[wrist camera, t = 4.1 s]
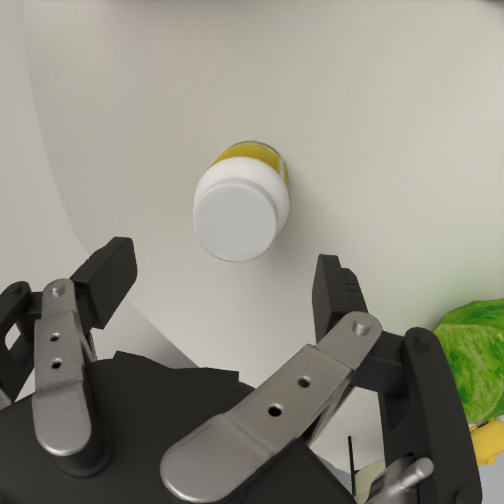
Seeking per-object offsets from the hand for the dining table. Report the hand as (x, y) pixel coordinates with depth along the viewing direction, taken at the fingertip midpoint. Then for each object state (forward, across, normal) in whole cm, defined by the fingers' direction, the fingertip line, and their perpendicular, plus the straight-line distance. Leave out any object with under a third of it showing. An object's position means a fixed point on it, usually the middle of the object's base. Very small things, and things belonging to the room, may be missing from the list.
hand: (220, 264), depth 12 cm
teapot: (+16, -63, +56) cm, 86 cm away
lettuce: (+15, -30, +16) cm, 37 cm away
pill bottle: (+15, 0, 0) cm, 15 cm away
